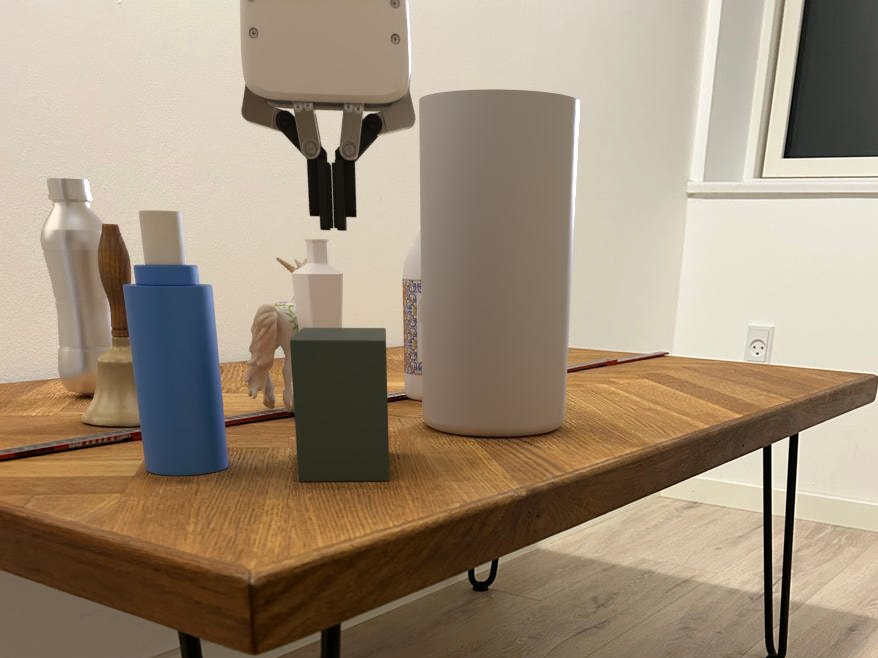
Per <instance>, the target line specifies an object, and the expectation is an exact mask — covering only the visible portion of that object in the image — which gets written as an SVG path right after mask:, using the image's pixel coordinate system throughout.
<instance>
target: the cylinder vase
mask: <svg viewBox="0 0 878 658" xmlns="http://www.w3.org/2000/svg"><path fill="white" fill-rule="evenodd" d="M580 103H581V102H580V100H579V98H576V97H574V96H570V95H566V94H562V93H557V92H549V91H548V92H547V91H539V90H527V89H502V88H501V89H496V88H494V89H492V88H489V89H487V88H485V89H483V88H482V89H463V90H461V89H460V90H448V91H441V92H434V93H430V94H426V95H423V96H421V97H420V98H419V99H418V119H419V120H418V123H419V124H418V126H419V127H418V129H419V131H418V132H419V133H418V134H419V137H418V138H419V140H418V141H419V211H420V212H419V214H420V215H419V216H420V218H419V219H420V221H419V222H420V223H419V225H420V227H419V228H420V229H419V230H420V232H421V325H422V401H421V403H422V405H421V407H422V409H421V411H422V419H423V421H424V422H425V424H426V425H427V426H429V427H430V428H432V429H434V430H436V431H440V432H443V433H448V434H453V435H461V436H471V437H484V438H485V437H486V438H513V437H514V438H515V437H526V436H527V437H528V436H535V435H542V434H546V433H550V432H553V431H555V430H557V429H559V428H560V427H561V426H562V425H563V424H564V422H565V419H566V404H567V384H568V361H569V343H570V341H569V340H570V320H571V319H570V317H571V299H572V298H571V295H572V276H573V275H572V274H573V256H574V255H573V254H574V253H573V252H574V236H575V235H574V234H575V212H576V189H577V170H578V167H577V166H578V150H579V149H578V147H579V126H580V125H579V124H580Z"/></svg>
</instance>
